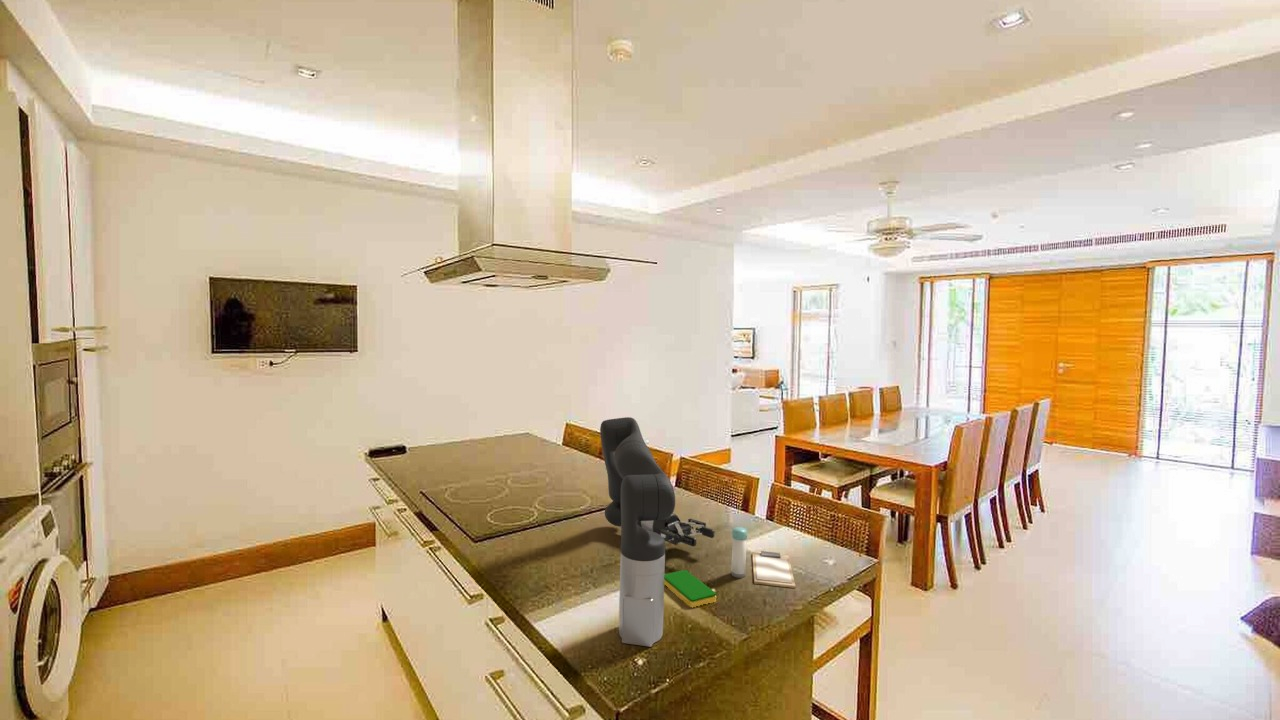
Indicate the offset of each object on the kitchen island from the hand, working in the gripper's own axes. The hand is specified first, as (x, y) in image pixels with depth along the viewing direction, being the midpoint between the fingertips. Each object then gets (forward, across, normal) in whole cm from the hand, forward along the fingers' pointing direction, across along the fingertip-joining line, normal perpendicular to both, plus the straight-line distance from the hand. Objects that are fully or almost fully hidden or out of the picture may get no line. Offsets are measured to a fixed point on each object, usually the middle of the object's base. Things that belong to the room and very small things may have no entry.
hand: (704, 538), depth 144 cm
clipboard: (+16, +9, +6) cm, 19 cm away
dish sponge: (+7, -17, +7) cm, 19 cm away
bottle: (+11, 0, +6) cm, 13 cm away
